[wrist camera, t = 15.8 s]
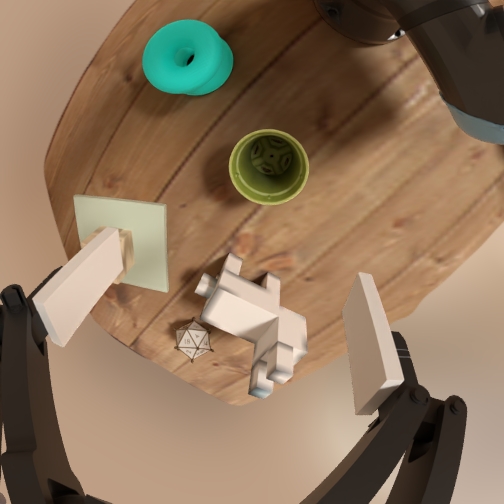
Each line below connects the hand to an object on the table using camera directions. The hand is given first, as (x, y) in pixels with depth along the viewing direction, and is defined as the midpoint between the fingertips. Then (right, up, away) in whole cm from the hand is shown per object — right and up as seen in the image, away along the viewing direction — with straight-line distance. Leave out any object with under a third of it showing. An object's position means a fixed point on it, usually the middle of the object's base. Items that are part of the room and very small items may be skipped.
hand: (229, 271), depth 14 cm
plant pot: (+4, +15, +25) cm, 29 cm away
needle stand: (-24, +3, +35) cm, 42 cm away
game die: (-11, -15, +43) cm, 47 cm away
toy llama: (+1, -5, +36) cm, 37 cm away
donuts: (-6, +28, +19) cm, 34 cm away
